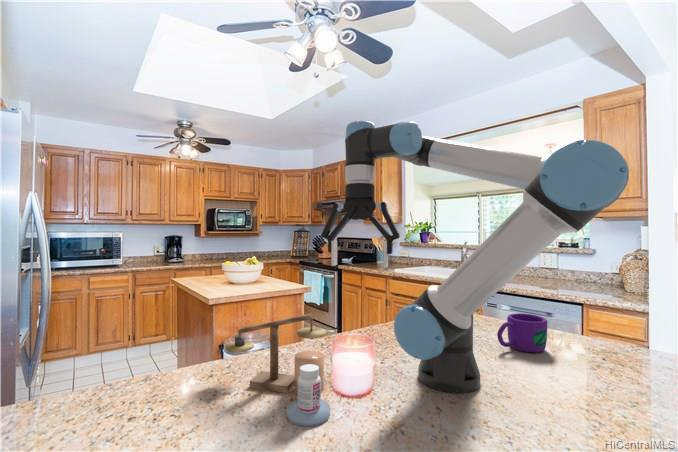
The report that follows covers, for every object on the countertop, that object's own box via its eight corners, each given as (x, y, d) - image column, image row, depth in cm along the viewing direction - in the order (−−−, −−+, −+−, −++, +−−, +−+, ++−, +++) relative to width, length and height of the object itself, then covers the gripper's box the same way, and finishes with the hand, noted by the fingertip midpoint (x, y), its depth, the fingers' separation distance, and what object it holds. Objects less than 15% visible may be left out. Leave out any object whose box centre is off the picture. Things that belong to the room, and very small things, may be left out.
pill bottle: (317, 415, 70) (317, 373, 70) (294, 413, 71) (294, 371, 71) (322, 403, 75) (323, 364, 75) (301, 401, 76) (301, 362, 76)
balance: (329, 386, 86) (330, 311, 86) (320, 399, 79) (320, 319, 79) (235, 372, 93) (235, 304, 93) (219, 383, 86) (219, 310, 87)
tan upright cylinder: (327, 384, 86) (327, 352, 86) (317, 398, 80) (318, 363, 80) (301, 381, 88) (301, 349, 88) (289, 393, 82) (289, 359, 82)
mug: (526, 341, 120) (526, 311, 120) (556, 352, 109) (556, 320, 109) (484, 346, 115) (484, 315, 115) (512, 359, 104) (512, 325, 104)
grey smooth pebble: (335, 406, 76) (335, 401, 76) (321, 429, 67) (321, 423, 67) (297, 400, 78) (297, 395, 78) (278, 422, 70) (278, 416, 70)
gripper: (410, 183, 90) (410, 266, 90) (319, 186, 97) (318, 263, 97) (407, 180, 83) (407, 269, 83) (309, 183, 90) (308, 266, 90)
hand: (359, 266), depth 90 cm, fingers open, 13 cm apart
